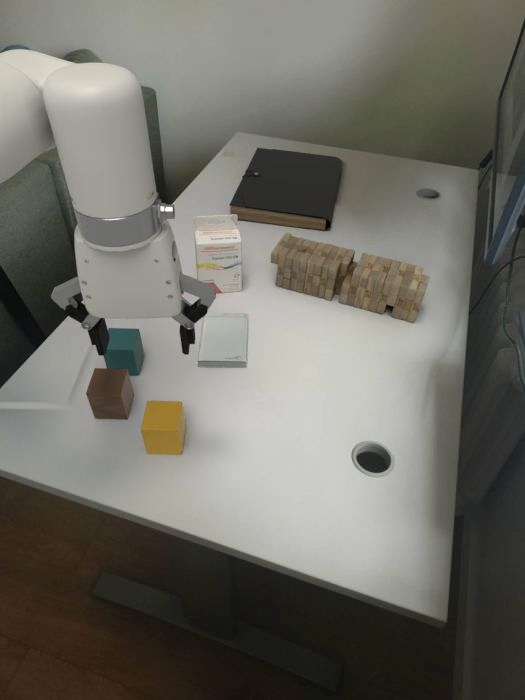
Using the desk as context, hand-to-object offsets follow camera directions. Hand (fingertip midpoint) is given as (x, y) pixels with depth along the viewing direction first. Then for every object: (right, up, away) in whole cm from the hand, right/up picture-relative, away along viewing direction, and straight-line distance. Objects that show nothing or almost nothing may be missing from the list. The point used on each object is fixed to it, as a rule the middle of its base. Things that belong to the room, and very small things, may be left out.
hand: (145, 346), depth 58 cm
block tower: (+30, +11, +40) cm, 51 cm away
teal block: (-9, -3, +25) cm, 27 cm away
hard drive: (+7, +1, +29) cm, 30 cm away
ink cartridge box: (+5, +12, +41) cm, 43 cm away
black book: (+21, +40, +69) cm, 83 cm away
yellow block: (0, -14, +14) cm, 20 cm away
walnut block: (-9, -9, +19) cm, 23 cm away
